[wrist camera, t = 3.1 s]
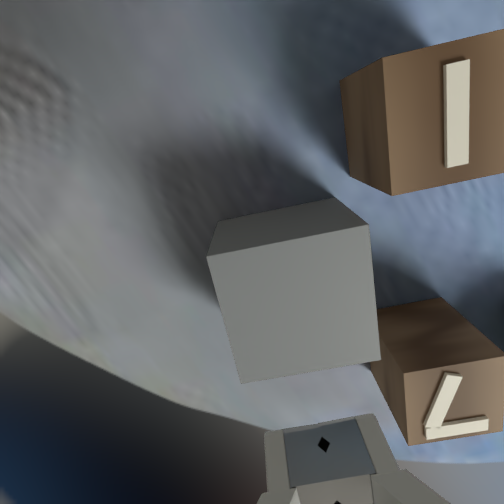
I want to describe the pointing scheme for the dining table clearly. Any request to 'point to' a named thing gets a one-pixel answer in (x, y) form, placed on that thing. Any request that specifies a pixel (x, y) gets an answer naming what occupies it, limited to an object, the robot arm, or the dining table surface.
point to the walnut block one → (427, 115)
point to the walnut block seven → (438, 373)
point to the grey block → (296, 289)
